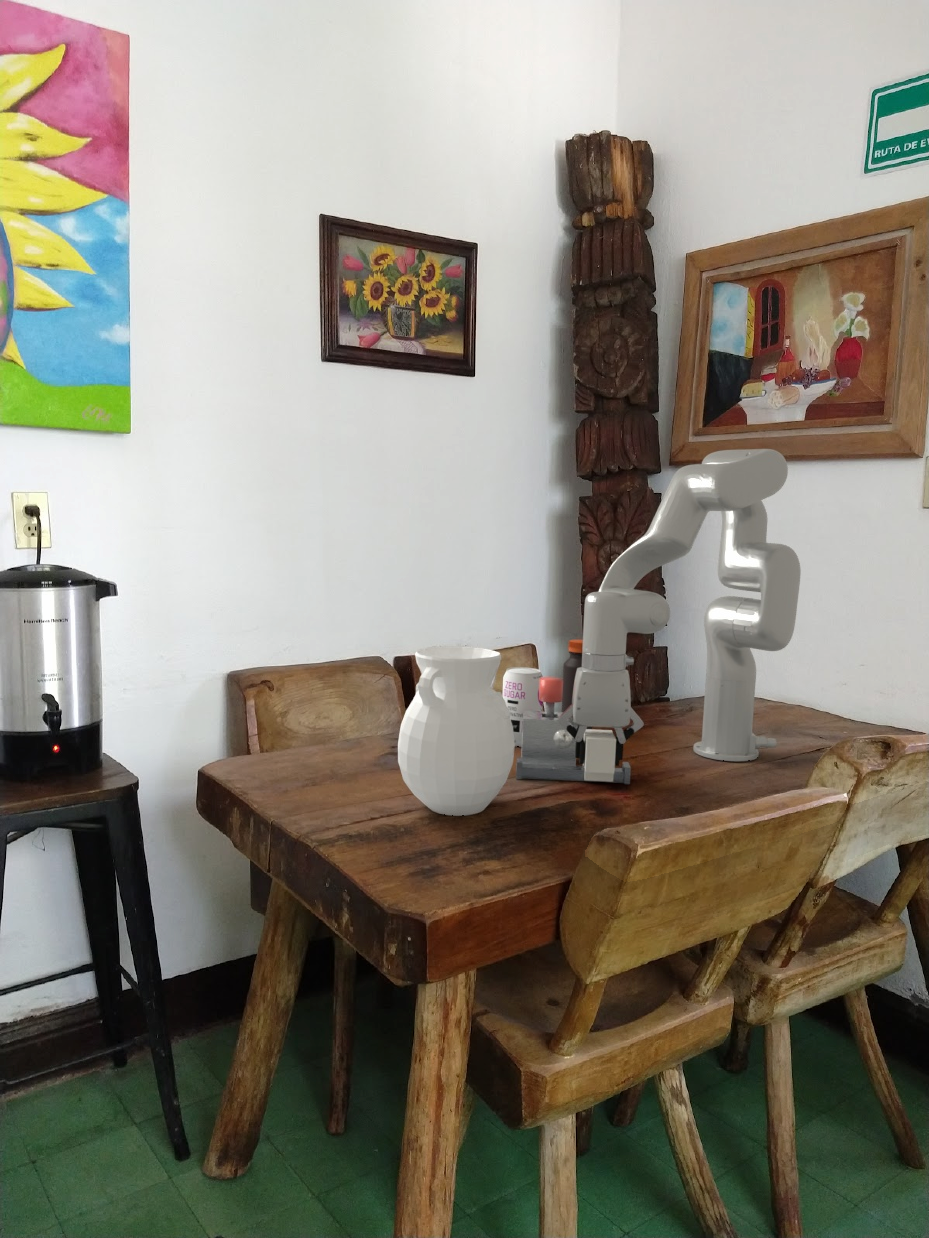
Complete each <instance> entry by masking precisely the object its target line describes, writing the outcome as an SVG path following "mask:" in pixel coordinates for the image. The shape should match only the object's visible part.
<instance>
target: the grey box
mask: <svg viewBox="0 0 929 1238" xmlns="http://www.w3.org/2000/svg"><path fill="white" fill-rule="evenodd" d="M562 713H563V712H561V711H554V718H548V717H545V716H546V710H545V711H543V710H542V711H523V723H522V747H521V749H520V750H521V751H520V752H521V754H520V755H521V756H520V757H522V761H523V764H541V765H563V766H577V764H576V763H577V758H575V747H576V740H575V739H574V738H573V737H572V736H571V734H570V733H569V732H568V731H567V730H566V729H565V728H564V727H563V726H562V725H561V724H560V723H559V722H558V717H559V716H560V715H561V714H562ZM568 722H569V723H570V724H572V725H573V726H574V727H575V728H576V729H577V726H578V725H577V724H575V723H574V721H573V718H572V716H571V717H570V718H569V719H568Z"/></svg>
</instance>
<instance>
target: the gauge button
mask: <svg viewBox="0 0 929 1238" xmlns="http://www.w3.org/2000/svg"><path fill="white" fill-rule="evenodd" d="M562 694H563V678H561V677H555V676H554V677H553V676H543V677H542V678H540V681H539V700H540V701H542V703H545V712H546V716H545V717H548V718H554V712H555V706H556V705H555V703H562Z"/></svg>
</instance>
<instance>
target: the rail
mask: <svg viewBox="0 0 929 1238" xmlns="http://www.w3.org/2000/svg"><path fill="white" fill-rule="evenodd" d="M621 765H622V766H621V767H615V771H614V775H613V782H612V784H613V783H615V784H616V783H617V784H618V783H619V784H623V785H631V770H632V767H631V765H630V763H629V762H628V761H622V764H621ZM515 766H516V767H515V768H516V769H515V771H516V772H515V779H516V780H523V779H529V780H531V779H533V780H546V781H547V780H551V781H553V780H554V781H571V782H572V781H574V782H575V781H577V782H587V781H586V780H584V773H585V769H584V766H583V765H579V766H578V765H576V766H563V765H541V764H523V761H522V757H521V756H520V757H519V756H516V765H515ZM590 782H594V783H609V782H608V781H590Z"/></svg>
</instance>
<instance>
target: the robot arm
mask: <svg viewBox="0 0 929 1238" xmlns="http://www.w3.org/2000/svg"><path fill="white" fill-rule="evenodd" d="M788 468H789V467H788V462H787V461H786V458H785V457H784V455H783V454H782V453H781V452H779V451H777V450H775V449H772V448H771V449H770V448H753V449H752V448H751V449H749V448H748V449H723V450H718V451H714V452H710V453H709V454H707V455H706V456H705V457H704V458H703V460H702V461H701V463H695V464H688V465H685V466H682V467H680V468H678V470H677V471H676V472H674V474H673V476H672V477H671V480H670V482H669V484H668V486H667V489H666V490H665V493H664V495H663V496H662V499H661V502H660V503H659V506H658V508H657V510H656V512H655V515H654V516H653V518H652V521H651V523H650V525H649V527H648V529H647V531H646V532H645V533H644V535H642V536H641V537H640V538H639V539H638V540H635V542H634V543H632V544H631V545H630V546H628V547H627V549H626V550H624V552H621V554H620V555H619V556H617V558H616V559H615V560H614V561H613V562H612V564H611V565H610V566H609V568H608V570H607V572H606V573H605V576H604V578H603V580H602V583H601V584H600V586H599V589H598V591H593V592H590V593H588V594H587V595H586V596H585V598H584V599H585V600H584V610H583V611H584V613H583V630H582V632H583V635H582V640H583V650H582V667H580V668H577V671H576V676H575V681H574V688H573V697H572V704H571V705H570V706H569V707H568V708H567V709H566V710H565V711H564V712H563V713H562V714H561V715H560V716H559V717H558V722H559V723H560V724H561V725H562V726H563V727H564V728H565V729H566V730H567V731H568V732H569V733H570V734H571V736H572V737H573V738H574V739H575V740H576V747H575V758H576V759H578V762H579V765H583V763H584V747H585V743H584V733H585V731H586V728H587V726H588V727H592V728H593V727H594V728H610V729H611V728H612V729H613V728H614V732H615V735H616V736H615V739H616V752H615V767H616V766H617V767H618V766H620V761H623V757H624V744H625V743H626V741H627V740H629V739H630V738H631V736H633V735H634V734H635V733H637V732H638V731H639V730H640V729H641V728H643V726H645V725H644V724H645V723H644V721H643V720H642V719H641V718H640V716H639V715H638V714H637V713H636V711H635V710H634V709H633V708H632V707H631V685H630V684H631V682H630V681H631V680H630V674H629V670H628V669H626V667H628V666H631V665H634V663H635V659H634V656H628V655H627V654H626V653H627V652H626V651H627V635H628V633H635V634H636V633H637V634H646V635H648V634H654V633H657V632H659V631H661V630H662V629H664V627H666V625H667V624H668V623H669V620H670V617H671V607H670V604H669V602H668V600H666V599H665V598H664V597H663V596H662V595H660V594H659V593H656V592H652V591H648V590H641V589H640V590H639V589H635V587H636V586H637V584H638V583H639V582H640V580H642V579H643V577H645V576H646V575H648V574H649V573H650V572H651V571H653V570H656V569H657V568H659V567H662V566H664V565H667V564H669V563H672V562H674V561H677V560H679V559H680V558H683V557H684V556H686V555H688V554H689V553H690V552H691V550H692V548H693V546H694V543H695V541H696V539H697V537H698V536H699V533H700V530H701V528H702V525H703V524H704V521H705V519H706V517H707V515H708V513H710V512H720V514H721V533H720V541H719V542H720V544H719V551H718V552H719V553H718V562H717V564H718V565H717V576H718V580H719V582H720V583H721V584H722V585H723V586H724V587H727V588H729V589H733V590H740V591H746V592H747V591H748V592H754V593H760V599H757V598H753V597H744V596H734V595H733V596H731V595H728V596H727V595H726V596H720V597H718V598H715V599H714V600H712V601H711V602H710V603H709V605H708V606H707V607H706V609H705V612H704V616H703V624H704V625H703V626H704V632H705V634H704V635H705V643H706V670H705V671H706V674H705V683H704V684H705V685H704V687H705V688H704V698H703V699H704V701H703V716H702V717H703V718H702V731H701V732H702V734H701V740H700V741H697V742H695V743H694V744H693V752H694V753H695V754H697V755H699V756H701V757H704V758H707V759H712V760H718V761H723V760H724V761H723V762H749V761H748V760H750V761H755V760H756V759H758V758H757V757H759V755H760V753H759V749H760V748H766V749H776V748H777V739H776V737H775V738H773V737H772V738H771V737H770V738H769V737H767V736H763V735H762V736H757V735H756V734H755V733H754V732H753V724H754V723H753V722H754V711H755V710H754V709H755V708H754V707H755V694H756V680H757V679H756V678H757V665H756V661H755V657H754V655H753V652H752V650H751V649H756V650H761V651H768V652H778V651H782V650H783V649H785V648H786V647H787V646H788V645H789V643H790V642H791V640H792V639H793V634H794V631H795V628H796V618H797V610H798V602H799V593H800V584H801V575H802V573H801V571H802V570H801V563H800V559H799V556H798V555H797V552H795V550H794V549H793V548H791V547H790V546H788V545H786V544H782V543H774V542H768V541H767V536H768V535H767V534H768V533H767V532H768V530H767V529H768V512H767V509H766V506H765V504H764V503H763V500H765V499H767V498H770V497H772V496H773V495H775V494H776V493H778V492H779V491H780V490H781V489H783V487H784V485H785V484H786V481H787V478H788V473H789V472H788V471H789V469H788ZM571 716H572V718H573V721H574V723H575V724H577V725H578V726H577V729H576V728H575V727H574V726H573V725H572V724H570V723H569V722H568V719H569V718H570V717H571ZM631 720H632V723H631ZM630 723H631V724H630ZM623 728H624V729H623Z"/></svg>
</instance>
